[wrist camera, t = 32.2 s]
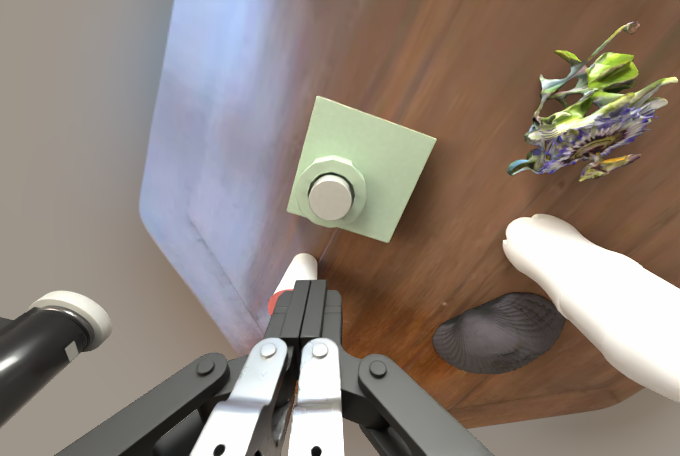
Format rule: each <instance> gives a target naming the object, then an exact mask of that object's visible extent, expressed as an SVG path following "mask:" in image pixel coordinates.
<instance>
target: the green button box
mask: <svg viewBox="0 0 680 456" xmlns="http://www.w3.org/2000/svg"><path fill="white" fill-rule="evenodd" d="M436 140H437V139H436V138H433V137H431V136H429V135H427V134H424V133H422V132H419V131H416V130H413V129H411V128H408V127H405V126H402V125H400V124H397V123H394V122H391V121H389V120H386V119H383V118H380V117H378V116H375V115H372V114H369V113H367V112H364V111H361V110H358V109H355V108H353V107H350V106H347V105H344V104H342V103H339V102H336V101H333V100H331V99H328V98H325V97H322V96H317V97H316V101H315V105H314V109H313V112H312V116H311V120H310V124H309V128H308V131H307V135H306V139H305V143H304V147H303V150H302V154H301V158H300V162H299V166H298V169H297V173H296V177H295V181H294V185H293V188H292V192H291V196H290V200H289V204H288V207H287V212H290V213H293V214H296V215H300V216H303V217H306V218H308V219H309V220H310V221H311V222H312V223H315V224H318V225H321V226H324V227H328V228H333V227H338V228H342V229H345V230H348V231H351V232H354V233H358V234H361V235H364V236H367V237H371V238H374V239H377V240H380V241H383V242H387V243H389V241H390V239H391V237H392V234H393V232H394V230H395V228H396V226H397V224H398V222H399V219H400V217H401V215H402V213H403V211H404V209H405V207H406V204H407V202H408V200H409V198H410V196H411V194H412V191H413V189H414V187H415V185H416V183H417V181H418V179H419V176H420V174H421V172H422V170H423V168H424V166H425V163H426V161H427V159H428V157H429V155H430V153H431V151H432V148H433V146H434V144H435V142H436ZM325 175H337V176H340V177H342V178H343V179H344V180H345V181H347V183H348V184H349V186H350V188H351V194H352V203H351V207H350V210H349V211H348V213H347V214H346V215H345V216H343V217H342V218H340V219H338V220H332V221H329V220H324V219H321V218H319V217H318V216H317V215H315V214H314V213H313V211H312V210H311V208H310V205H309V194H310V192H311V189H312V187H313V185H314V183H315V182H316V181H317V180H318V179H319V178H320V177H322V176H325Z"/></svg>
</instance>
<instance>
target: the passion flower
mask: <svg viewBox="0 0 680 456" xmlns="http://www.w3.org/2000/svg"><path fill="white" fill-rule="evenodd" d="M639 26H640V24H638V22H637V21H634V22H631V23H629V24H627V25H624V26H622V27H620V28H619V29H618V30H617V31H616V32H615V33H614V34H613V35H612V36H610V37H609V38H608V40H606V41H605V42H604V43H603V44H602V45H601V46H600V47H599V48H598V49H597V50H596V51H595V52H594V53H593V54H592V55H591V56H590V57H589V58H588V59H587V60H586V61H583V62H581V61H580V60H579V59H577V57H576V56H575V55H574V54H572V53H570V52H567V51H564V50H556V51H555V52H554V53H556V54H558V55H559V56H560V57H562V58H563V59H565V60H566V61H567V62H568V63H569V64H570V66H571V73H570V74H569V76H567V77H566V78H565V79H561V80H558V79H553V80H547V79H544V78H543V76H542V74H541V75H540V76H539V77H540V81H541V83H542V88H543V90H542V92H541V94H540V97H541V98H542V100H541V103H540V105H539V107H538V109H537V111H536V112H535V114H534V116H533V124H534V125H532V126H531V127H530V131H529V132H528V133H526V134H525V136H524V137H525V141H526V142H527V143H530V144H531V145H537V146H538V147H539V148H537V149H534V150H532V151H530V152H528V153H527V157H526V159H527V160H516V161H514V162H512V163H511V164H510V165H509V167H508V169H507V173H508V174H509V175H511V176H513V175H514V174H516V173H518V172H521V171H524V170H527V169H529V170H532V171H533V172H534V173H535V174H542V173H545V172H547V173H550V174H552V173H554V172H556V171H557V170H558V169H559V168H560V167H564V166H565V165H569V164H572V165H574V164H575V163H576V162H577V161H579V160H583V161H586V160H588V159H590V160H595V162H593V163H590V164H589V165H587V166H586V167H585V168H584V169H583V170H582V172H581V175H580V176H581V177H580V178H579V181H583V180H585V179H588V178H590V179H596V178H599V177H601V176H603V175H606V174H608V173H609V172H611V171H613V170H615V169H617V168H620V167H623V166H626V165H628V164H630V163H632V162H633V161H635V160H636V159H638V158H640V156H641V155H640V154H631V155H628V156H621V157H619V158H613V159H608V160H603V159H602V157H604V156H606V155H609V153H610V151H611V150H614V149H613V148H615V147H620V146H621V145H627V144H629V143H630V142H633V141H634V139H635V138H636V137H637V136H639V135H643V133H641V132H644V131H647V130H651V129H643V128H644V127H646V126H647V124H650V123H651V118H653V117H655V116H654V113H655V110H656V109H658V108H660V107H663V106H665V105H667V104H668V101H667V100H666V99H664V98H662V97H656V98H649V97H651V95H652V94H653V93H654V92H656V91H657V90H658V88H659V87H660V86H662V85H665V84H668V83H671V82H673V83H677V82H678V79H677V78H675V77H673V78H663V79H660V80H658V81H656V82H654V83H652V84H650V85H648V86H647V87H645V88H644V89H642V90H640V91H638V92H636V93H627V94H618V92H620V91H621V90H623V89H628V88H632V87H633V86H635V81H634V80H631V79H634V78H635V77H638V73H639V72H638V70H637V68H636V66H635V65H634V64H633V62H632V61H633V59H634V56H633V55H627V54H614V53H612V52H606V53H604V54H602V55H601V56H600V57H599V58H598V59H597V60H596V61H595V62H594V63H593V64H592V65H591V66H590V67H589V68H587V66H586V65H587V63H588V62H589V61H590V60H591V59H593V58H594V56H595V55H597V54H598V53H599V52H600V51H601V50H602V49H603V48H604V47H605V45H607V44H608V43H609V42H610V41H611V40H612V39H613V38H615V37H616V36H617V35H618V34H619V33H620V32H621V31H622V29H623V28H624V31H627V33H628V34H633V33H635V31H636V30H637V29H638V28H639ZM574 77H577V78H578V80H579V81H578V83H577V85H576V87H575V88H574V89H572V90H570V91H565V92H558V89H559V88H561V87H562V86H563V85H564V84H565V83H566V82H568V81H569V80H570V79H572V78H574ZM570 94H583V97H582V98H581V99H580V100H579V101H578V102H577V103H575V104H573V105H571V106H568V105H567V104H566V102H565V97H566V96H567V95H570ZM549 99H556V100H558V101H559V102H560V103H561V104H562V105H563V106H564V107H565V108H566V109H565V110H563V111H561V112H558V113H555V114H553V115H551V116H549V117H547V118H543V117H539V116H538V115H539V113H540V111H541V110H542V109H543V105H544V103H545V102H546V100H549ZM592 103H594V104H595V105H596V106H598V107H599V108H600V109H599V110H597V111H596V112H594V113H592V115H590V116H588V117H586V118H583V117H584V116H585V115H586V112H587V111H588V110H589V109H590V107H591V104H592ZM652 115H653V116H652ZM656 118H657V117H656ZM656 118H655V119H656Z"/></svg>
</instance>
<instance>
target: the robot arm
mask: <svg viewBox="0 0 680 456" xmlns="http://www.w3.org/2000/svg"><path fill="white" fill-rule="evenodd" d="M342 325H343V319H342V297H341V295H340V294H339V292H338V290H328V282H327V280H296V281H295V284H294V288H293V291H284V292H283V293H282V294H281V295H280V296H279V297H278V299H277V302H276V305H275V308H274V310H273V314H272V316H271V319H270V322H269V324H268V327H267V330H266V333H265V336H264V338H263V340H262V341H260V342H259V343H257V344H256V345H255V346H254V347H253V348H252V350H251V352H250V354H248V355H246V356H243V357H240V358H236V359H233V360H229V361H227V359H226V357H225V356H224V355H223V354H220V353H209V354H206V355H203V356H201V357H199V358H198V359H196V360H195V361H193V362H192V363H190V364H189V365H188V366H186V367H184V368H183V369H182V370H180V371H178V372H177V373H175V374H174V375H172V376H171V377H170V378H168V379H166V380H165V381H164V382H162V383H161V384H159V385H158V386H156V387H155V388H153V389H152V390H150V391H149V392H148V393H146V394H144V395H143V396H141V397H140V398H138V399H137V400H135V401H134V402H132V403H131V404H130V405H128V406H127V407H125V408H124V409H122V410H121V411H119V412H118V413H116V414H115V415H113V416H112V417H110V418H109V419H107V420H106V421H104V422H103V423H101V424H100V425H98V426H97V427H95V428H94V429H93V430H91V431H90V432H88V433H87V434H85V435H84V436H82V437H81V438H79V439H78V440H76V441H75V442H74V443H72V444H70V445H69V446H67V447H66V448H65V449H63V450H62V451H60V452H59V453H57V454H56V455H54V456H281V451H282V447H283V443H284V439H285V435H286V431H287V427H288V423H289V419H290V415H291V411H292V407H293V403H294V399H295V394H294V391H295V386H296V381H297V380H299V386H298V396H297V404H296V405H295V406H294V408H293V415H292V424H291V433H290V442H289V452H288V456H344V444H343V443H344V442H343V424H342V417H343V418H346V419H348V420H350V421H353V422H355V423H358V424H359V426H360V428H361V430H362V432H363V433H364V434H365V436H366V437H367V438H368V440H369V441H370V442H371V444H372V445H373V446H374V448H375V449H376V450H377V452H378V453H379V454H380V456H494V455H493V454H492V453H491V452H490V451H489V450H488V449H487V448H486V447H485V446H484V445H483V444H482V443H481V442H479V441H478V440H477V439H476V438H475V437H474V436H473V435H472V434H471V433H470V432H469V431H468V430H467V429H465V428H464V427H463V426H462V425H461V424H460V423H459V422H458V421H457V420H456V419H455V418H454V417H453V416H452V415H450V414H449V413H448V412H447V411H446V410H445V409H444V408H443V407H442V406H441V405H440V404H439V403H438V402H437V401H435V400H434V399H433V398H432V397H431V396H430V395H429V394H428V393H427V392H426V391H425V390H424V389H423V388H421V387H420V386H419V385H418V384H417V383H416V382H415V381H414V380H413V379H412V378H411V377H410V376H409V375H408V374H406V373H405V372H404V371H403V370H402V369H401V368H400V367H399V366H398V365H397V364H396V363H395V362H394V361H393V360H391V359H390V358H389V357H387V356H385V355H381V354H371V355H368V356H366V357H364V358H363V359H359V358H356V357H353V356H351V355H349V354H348V353H346V352H345V351H344V349H343V348H342ZM94 337H95V334H94V330H93V328H92V326H91V325H90V323H89V322H88V321H87V320H86V319H85V318H84V317H82V316H81V315H80V314H78V313H76V312H75V311H73V310H70V309H68V308H65V307H61V306H55V305H49V306H44V307H41V308H38V307H33V308H32V309H30V310H29V311H27V312H26V313H24V314H23V315H21V316H20V317H18V318H17V319H15V320H9V319H5V318H1V317H0V428H1V427H2V426H3V425H5V424H6V423H7V422H8V421H9V420H10V419H11V418H12V417H13V416H14V415H15V414H16V413H17V412H18V411H19V410H20V409H21V408H22V407H23V406H25V405H26V404H27V403H28V402H29V401H30V400H31V399H32V398H33V397H34V396H35V395H36V394H37V393H38V392H39V391H40V390H41V389H43V388H44V387H45V386H46V385H47V384H48V383H49V382H50V381H51V380H52V379H53V378H54V377H55V376H56V375H57V374H58V373H59V372H60V371H62V369H64V368H65V367H66V366H67V365H68V364H69V363H70V362H71V361H72V360H74V358H76V357H77V356H78V355H79V353H80V352H82V351H83V350H84V349H85V348H87V347H88V346H89V345H90V344H91V343H92V342H93V340H94ZM196 409H197V410H196ZM194 410H195V411H194ZM193 411H194V412H193ZM192 412H193V413H192ZM191 413H192V414H191ZM189 414H190V415H189ZM188 415H189V416H188ZM187 416H188V417H187ZM186 417H187V418H186ZM184 418H185V419H184ZM183 419H184V420H183ZM182 420H183V421H182ZM181 421H182V422H181ZM179 422H180V423H179ZM178 423H179V424H178ZM177 424H178V425H177ZM176 425H177V426H176ZM174 426H175V427H174ZM173 427H174V428H173ZM172 428H173V429H172ZM171 429H172V430H171ZM169 430H170V431H169ZM168 431H169V432H168ZM167 432H168V433H167ZM166 433H167V434H166ZM164 434H166V435H164ZM163 435H164V436H163ZM162 436H163V437H162ZM161 437H162V438H161Z"/></svg>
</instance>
